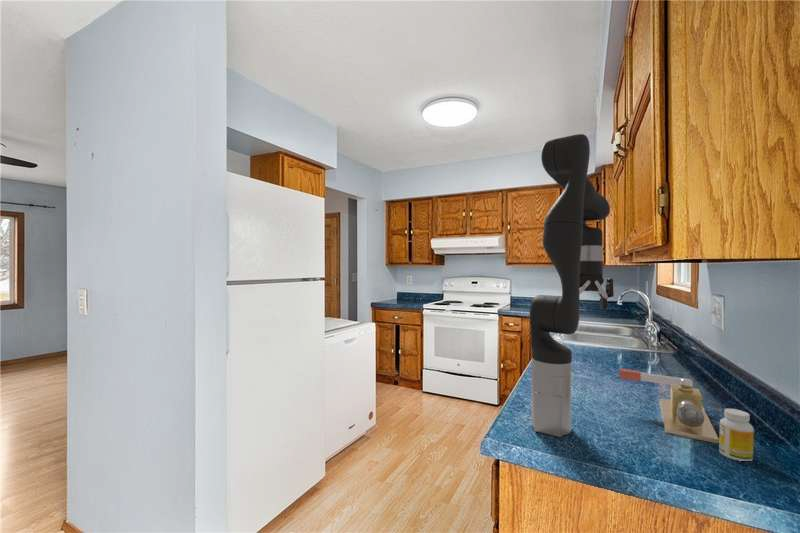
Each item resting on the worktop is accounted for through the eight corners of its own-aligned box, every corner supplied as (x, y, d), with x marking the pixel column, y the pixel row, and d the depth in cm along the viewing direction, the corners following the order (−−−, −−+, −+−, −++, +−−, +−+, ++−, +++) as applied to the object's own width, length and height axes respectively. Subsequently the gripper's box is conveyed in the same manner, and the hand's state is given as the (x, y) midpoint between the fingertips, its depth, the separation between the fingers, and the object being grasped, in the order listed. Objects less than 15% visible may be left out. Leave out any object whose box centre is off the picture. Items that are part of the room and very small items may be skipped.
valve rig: (719, 443, 83) (719, 406, 83) (665, 432, 88) (665, 397, 88) (702, 409, 103) (702, 378, 103) (659, 401, 108) (659, 372, 108)
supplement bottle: (712, 451, 80) (713, 408, 79) (730, 448, 81) (731, 405, 81) (741, 464, 74) (741, 418, 74) (759, 461, 76) (760, 415, 76)
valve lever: (691, 386, 96) (691, 378, 96) (693, 389, 94) (693, 381, 94) (619, 375, 105) (619, 368, 105) (619, 378, 103) (619, 370, 103)
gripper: (572, 259, 114) (571, 310, 114) (618, 260, 114) (617, 311, 113) (563, 260, 122) (562, 307, 121) (606, 261, 121) (605, 309, 121)
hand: (589, 309), depth 117 cm, fingers open, 8 cm apart
